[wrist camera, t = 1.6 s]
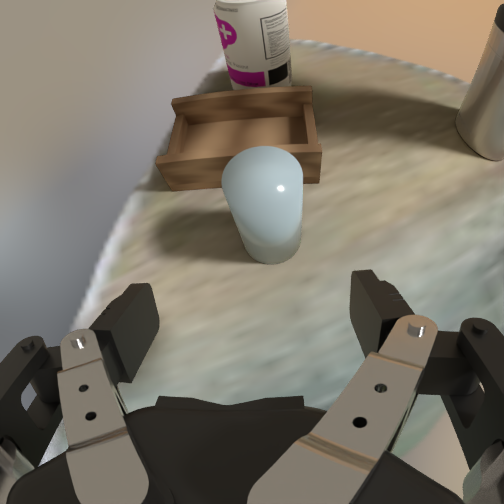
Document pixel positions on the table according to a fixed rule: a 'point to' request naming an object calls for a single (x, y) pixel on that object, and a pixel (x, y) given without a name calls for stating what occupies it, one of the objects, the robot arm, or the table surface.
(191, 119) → the wooden serving tray
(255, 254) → the domed pale cylinder
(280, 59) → the supplement can
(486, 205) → the table surface
